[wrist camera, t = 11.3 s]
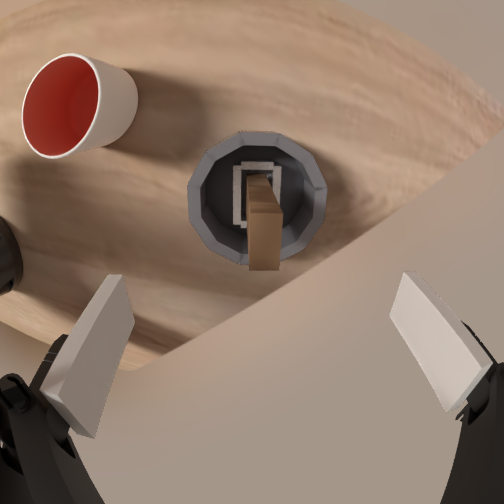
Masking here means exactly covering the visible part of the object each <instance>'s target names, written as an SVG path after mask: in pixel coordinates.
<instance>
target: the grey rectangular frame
mask: <svg viewBox="0 0 504 504" xmlns="http://www.w3.org/2000/svg"><path fill="white" fill-rule="evenodd" d="M241 169H249V170H271V175H270V185H271V188H272V190H273V192H274V194H275V196H276V199H277V201H278V203H279V205H280V186H281V165H280V164H279V163H274V162H273V161H272V160H271V159H241V162H234V164H233V225H241V228H247V217H246V214H243V213H241Z"/></svg>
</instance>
